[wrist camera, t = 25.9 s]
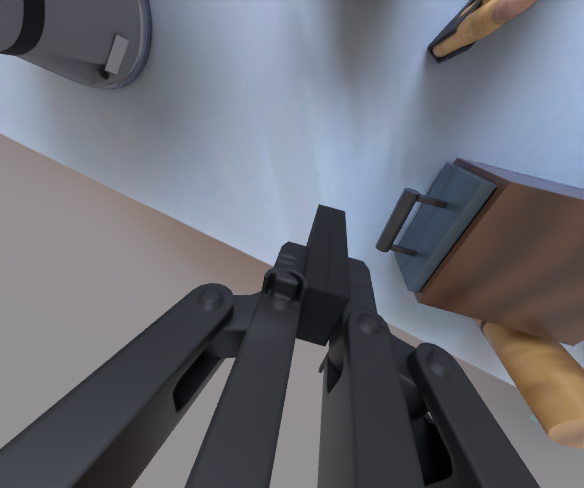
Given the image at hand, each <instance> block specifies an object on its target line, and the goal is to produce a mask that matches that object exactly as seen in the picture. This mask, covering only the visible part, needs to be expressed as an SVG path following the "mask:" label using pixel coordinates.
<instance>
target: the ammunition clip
mask: <svg viewBox="0 0 584 488" xmlns="http://www.w3.org/2000/svg"><path fill="white" fill-rule="evenodd" d="M536 1H537V0H470V1H469V2H468V3H467V4H466V5H465V6H464V8H463V9H462V10H461V11H460V12H459V13H458V14H457V15H456V16H455V17H454V18H453V20H452V21H451V22H450V23H449V24H448V25H447V26H446V27H445V28H444V29H443V30H442V31H441V33H440V34H439V35H438V36H437V37H436V38H435V39H434V40H433V41H432V42H431V43H430V45H429V46H428V48H427V49H428V50H429V51H430V53H431V54H432V56H433V57H434V58H435V60H436V61H437V62H438V64H439V63H441V62H443V61H445V60H447V59H450V58H452V57H454V56H456V55H458V54H460V53H462V52H464V51H466V50H468V49H469V48H470V47H471V46H472V45H473V44H474V43H475V42H476V41H477V40H479V39H481V38H483V37H485V36H488V35H489V34H491V33H493V32H494V31H496V30H497V29H498V28H499V27H500V26H501V25H503V24H505V23H506V22H508V21H510V20H511V19H513V18H514V17H516V16H518V15H519V14H521V13H522V12H524V11H525V10H527V9H528V8H529V7H530V6H531V5H533V4H534V3H535V2H536Z"/></svg>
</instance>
